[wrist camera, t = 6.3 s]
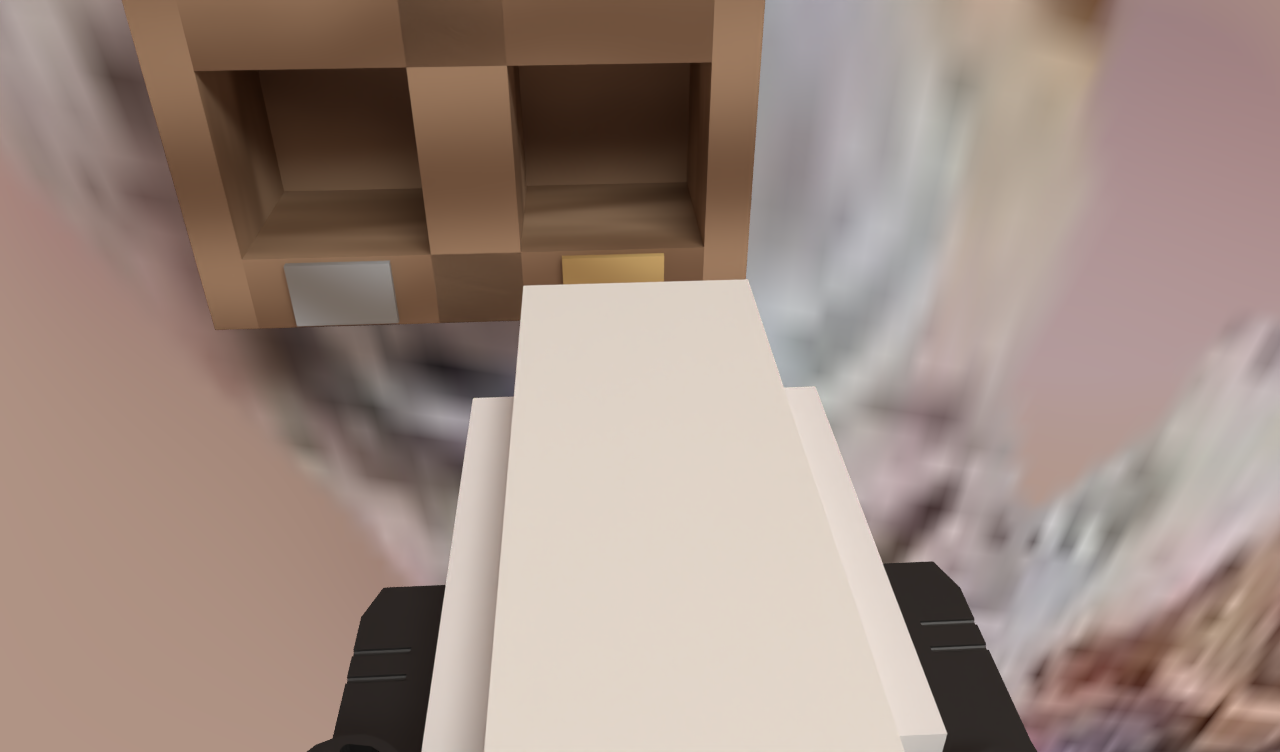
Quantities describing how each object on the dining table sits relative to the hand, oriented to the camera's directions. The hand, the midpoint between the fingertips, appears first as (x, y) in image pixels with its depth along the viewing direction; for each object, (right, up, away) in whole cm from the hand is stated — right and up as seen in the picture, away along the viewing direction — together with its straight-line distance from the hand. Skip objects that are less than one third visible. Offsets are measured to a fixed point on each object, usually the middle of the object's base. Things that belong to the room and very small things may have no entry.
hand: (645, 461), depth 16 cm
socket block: (-5, +11, +16) cm, 20 cm away
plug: (0, +1, +2) cm, 3 cm away
